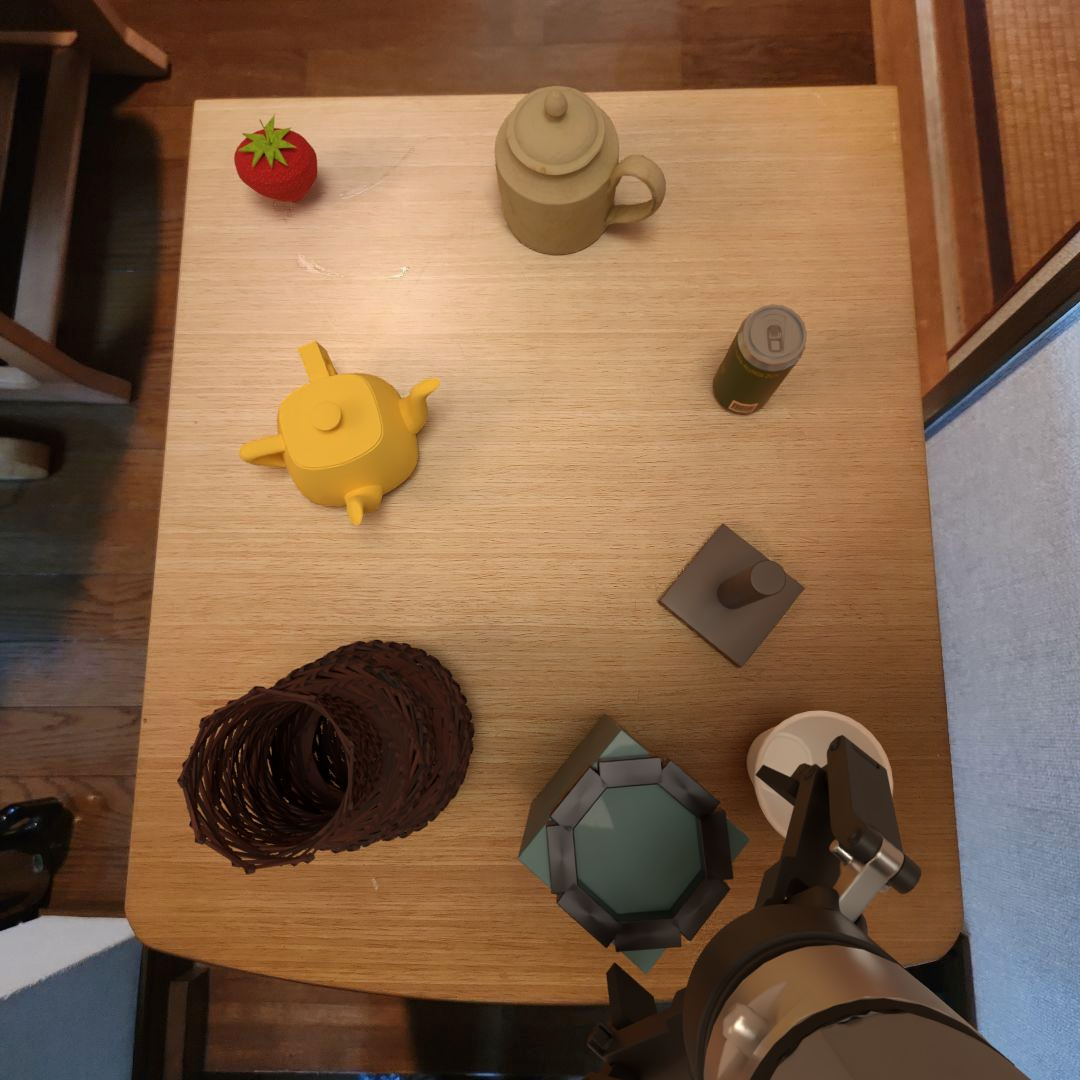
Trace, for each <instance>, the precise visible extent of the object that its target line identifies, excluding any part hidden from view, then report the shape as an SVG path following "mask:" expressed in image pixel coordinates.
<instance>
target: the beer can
mask: <svg viewBox="0 0 1080 1080" xmlns="http://www.w3.org/2000/svg"><path fill="white" fill-rule="evenodd" d="M807 337H808V332H807V328H806V324H805V322H804V321H803V319H802V317H801V316H800V315H799V314H798V313H797V312H796V311H795V310H794V309H792V308H790V307H787V306H785V305H782V304H775V303H774V304H767V305H763V306H760V307H759V308H756V309H755V310H754V311H752V312H751V313H749V314H748V316H747V317H745V319H744V320H743V321H742V322H741V324H740V326H739V327H738V329H737V332H736V334H735V336H734V338H733V340H732V342H731V343H730V345H729V348H728V349H727V351H726V353H725V355H724V357H723V359H722V362H721V363H720V365H719V367H718V369H717V370H716V372H715V375H714V377H713V384H712V388H713V392H714V397H715V398H716V400H717V402H718V403H719V404H720V405H721V406H722V407H723V408H725V409H726V410H727V411H729V412H732V413H734V414H741V415H747V414H753V413H756V412H757V411H759V410H760V409H762V408H763V407H765V405H766V404H767V403H768V402H769V401H770V399H771V397H772V396H773V395H774V394H775V392H776V391H777V390H778V389H779V387H780V386H781V384H783V382H784V380H785V379H786V378H787V377H788V375H789V374H790V373H791V371H792V370H793V369H794V368H795V366H796V365H797V363H798V362H799V361H800V359H801V358H802V356H803V354H804V351H805V349H806V343H807Z"/></svg>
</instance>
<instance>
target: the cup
mask: <svg viewBox="0 0 1080 1080" xmlns="http://www.w3.org/2000/svg"><path fill="white" fill-rule="evenodd" d="M840 735H844V736H845V737H846V738H847V739H849V740H850V741H851V742H852V743H854V744H855V745H856V746H858V747H859V748H860V749H861V750H863V751H864V752H865V753H866V754H868V755H869V756H870V757H871V758H873V759H874V760H875V761H877V762H878V763H879V764H880V765H882V766H883V767H884V768H885V769H886V770H887V775H888V780H889V784H890V789H891V794H892V799H893V798H894V797H893V795H894V778H893V770H892V767H891V764H890V761H889V758H888V755H887V753H886V752H885V750H884V748H883V746H882V744H881V742H879V740H878V739H877V738H876V737H875V735H874V734H873V733H872V732H871V731H869V730H868V729H867V727H865V726H864V725H863V724H861V723H860V722H858V721H856V720H855V719H854V718H851V717H850V716H847V715H845V714H841V713H839V712H835V711H830V710H807V711H804V712H803V711H802V712H799V713H796V714H793V715H792V716H789V717H788V718H786V719H783V720H782V721H781V722H780V723H779V724H777V725H776V726H773V727H770V728H768V729H767V730H764V731H763V732H761V733H760V734H758V735H757V736H756V737H755V739H754V740H753V741H752V743H751V744H750V746H749V748H748V752H747V755H746V769H747V773H748V777H749V780H750V781H751V784H752V785H753V788H754V792H755V796H756V799H757V802H758V806H759V808H760V810H761V811H762V813H763V815H764V817H765V819H766V820H767V822H768V823H769V824H770V825H771V827H772V828H773V829H774V830H775V831H776V832H777V834H779V835H780V836H781V837H782V838H784V839H785V838H786V834H787V831H788V827H789V823H790V819H791V815H792V812H793V808H794V806H793V805H791V804H790V803H789V802H788V801H787V800H785V799H784V798H783V797H782V796H780V795H779V794H778V793H777V792H775V791H774V790H773V789H772V788H771V787H769V786H768V785H767V784H766V783H764V782H763V781H762V780H761V779H759V778H758V777H757V776H756V773H757V772H758V771H759V769H760V768H761V767H762V765H765V766H767V767H770V768H772V769H774V770H776V771H778V772H781V773H783V774H785V775H787V776H789V777H791V775H792V774H793V773H794V771H795V770H796V769H797V767H798V766H799V765H801V764H803V763H806V764H808V765H811V766H812V765H813V764H817V765H818V766H819V767H821V768H822V767H823V766H825V765H826V764H827V750H828V748H829V745H830V743H831V742H832V741H833V740H834V739H835V738H836V737H838V736H840Z"/></svg>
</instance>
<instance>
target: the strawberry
mask: <svg viewBox="0 0 1080 1080" xmlns="http://www.w3.org/2000/svg"><path fill="white" fill-rule="evenodd" d="M275 117H276V115H275V114H274V115H273V116H272V117H271V118H270V119H269V121H268V122H267V123H266V125H265V126H264V124H263V121H262V120H261V118H259V119H258V121H259V123H260V125H261V126H262V129H260V130H259V129H258V130H257V131H255V132H252V133H250V132H249V133H248V132H242V136H244V137H245V138H244V139H243V140H242V141H241V142H240V143H239V145H237V147H236V150H235V152H234V157H233V162H234V166H235V170H236V173H237V174H238V177H239V179H240V180H241V181H242V182H243V183H244V184H245V185H246V186H248V187H249V188H250V189H251V190H252V191H254V192H256V193H257V194H258V195H260V196H262V197H264V198H267V199H271V200H275V201H278V202H283V203H284V202H285V203H299V202H301V201H302V200H303V199H304V198H305V197H306V196H307V195H308V194H309V193H310V191H311V190H312V188H313V186H314V185H315V183H316V180H317V179H318V173H319V170H318V169H319V168H318V157H317V153H316V150H315V149H314V147H313V146H312V145H311V144H310V143H309V141H308V140H307V139H306V138H305V137H304V136H303V135H301V134H300V133H298V132H296V131H294V130H291V129H292V127H286V128H280V127H279V128H277V127H275Z"/></svg>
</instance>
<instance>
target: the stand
mask: <svg viewBox="0 0 1080 1080" xmlns="http://www.w3.org/2000/svg"><path fill="white" fill-rule="evenodd" d="M602 714H603V715H601V716H600V717H599V719H598V720H597V721H596V723H595V724H594V725H593V726H592V728H591V729H590V730H589V731H588V733H587V734H586V735H585V736H584V738H582V740H581V741H580V742H579V744H578V745H577V746H576V747H575V749H574V750H573V751H572V752H571V754H570V755H569V756H568V757H567V759H566V760H565V761H564V762H563V764H561V766H560V767H559V769H558V770H557V771H556V772H555V773H554V775H553V776H552V777H551V779H549V781H548V782H547V783H546V785H545V786H543V788H542V790H541V791H540V792H539V793H538V794H537V796H536V797H535V798H534V799H533V801H532V802H531V803H530V807H529V811H528V813H527V814H528V815H527V819H526V823H525V825H524V826H525V827H524V831H523V835H522V839H521V843H520V847H519V851H518V855H517V860H518V861H519V862H520V864H522V865H524V867H526V869H527V870H529V871H530V872H531V873H532V874H533V875H535V876H536V877H537V878H538V879H539V880H540V882H543V884H545V885H546V887H548V888H549V889H550V890H551V883H550V870H549V858H548V846H547V834H546V822H547V821H553V820H552V819H551V818H550V817H549V814H550V810H551V809H552V808H553V807H554V806H555V804H556V803H557V802H558V801H559V799H560V798H561V797H562V796H563V794H564V793H565V792H566V791H567V789H568V788H569V787H570V786H571V785H572V783H573V782H574V781H575V780H576V778H577V777H578V776H579V775H580V773H581V772H582V771H583V770H584V768H585V767H586V766H587V765H588V764H591V765H592V766H593V767H594V768H595V769H596V770H598V766H597V759H601V758H613V757H625V756H637V755H649V754H653V752H651V751H650V750H649V749H647V747H646V746H645V745H643V744H642V743H641V742H640V741H638V740H637V738H635V737H634V736H633V735H631V734H630V733H629V732H628V731H627V730H625V728H623V727H622V726H620V725H619V724H618V722H616V721H615V720H614V719H613V718H611V717H610V716H609V715H608V714H607V713H602ZM727 827H728V835H729V843H730V852H731V860H732V864H733V863H734V862H735V860H736V859H737V857H738V856H739V855H740V854H741V853H742V851H743V850H744V848H746V846H747V845H748V844H749V842H750V840H751V838H750V837H749V836H748V835H747V834H745V833H744V832H743V831H742V830H741V829H740V828H739V827H738V826H737V825H736V824H735V823H734V822H732V820H730V819H729V818H727ZM574 840H575V852H576V863H577V875H578V879H579V880H580V881H581V882H582V883H583V884H584V885H586V886H587V887H588V888H589V889H590V890H591V891H592V892H593V893H595V894H596V895H597V896H598V897H599V898H600V899H601V900H602V901H603V902H605V903H606V904H607V905H608V906H609V907H610V908H611V909H612V910H613V911H615V912H616V913H617V914H623V913H636V912H648V911H661V910H669V909H670V908H671V907H672V906H673V904H674V903H675V902H676V900H677V899H678V898H679V897H680V895H681V894H682V893H683V891H684V890H685V889H686V887H687V886H688V885H689V884H690V882H691V881H692V880H693V878H694V877H695V876H696V875H697V873H698V872H699V871H700V869H701V864H700V855H699V846H698V837H697V829H696V820H695V816H694V815H693V814H692V813H691V812H690V811H688V810H687V809H686V808H685V807H684V806H683V805H682V804H680V803H679V802H678V801H677V800H676V799H675V798H673V797H672V796H671V795H670V794H669V793H668V792H666V791H665V790H664V789H663V788H662V787H661V786H659V785H658V784H657V785H645V786H633V787H621V788H609V789H606V790H605V791H604V793H603V794H602V795H601V796H600V798H599V799H598V800H597V801H596V802H595V804H594V805H593V806H592V807H591V809H590V810H589V811H588V812H587V814H586V815H585V816H584V817H583V819H582V820H581V821H580V822H579V824H578V825H577V826H576V827H575V829H574ZM557 894H558V893H557ZM557 894H556V895H557ZM611 944H612V946H614V940H613V941H612V943H611ZM611 944H610V945H611ZM667 949H668V948H662V949H650V950H637V951H625V952H620V953H621V954H623V956H625V957H626V959H628V960H629V961H630V962H631V963H633V964H634V965H635V966H636V967H637V968H638V969H639V970H640V971H641V972H642V973H643V974H645V975H648V974H649V973H650V971H652V969H653V967H654V966H655V965H656V963H657V962H658V961H659V959H660V958H661V957H662V956H663V954H664V953H665V951H666V950H667Z"/></svg>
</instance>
